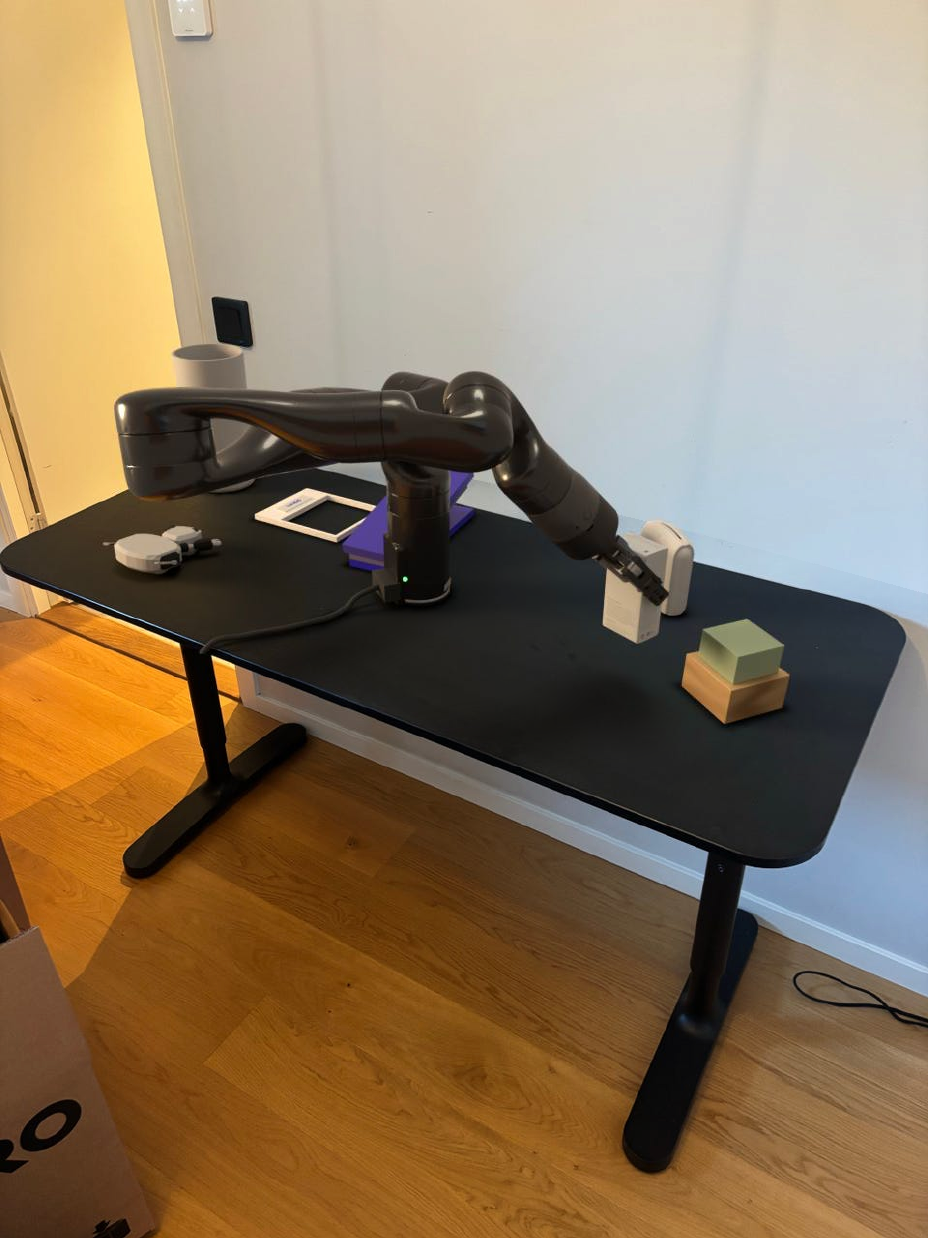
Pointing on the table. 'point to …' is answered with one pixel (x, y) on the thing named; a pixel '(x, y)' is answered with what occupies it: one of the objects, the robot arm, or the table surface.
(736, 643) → the upper block
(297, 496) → the photo frame
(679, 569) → the photo printer
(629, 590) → the cosmetic box
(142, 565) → the robot toy
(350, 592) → the table surface
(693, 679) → the lower block
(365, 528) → the stapler
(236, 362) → the cylinder vase
